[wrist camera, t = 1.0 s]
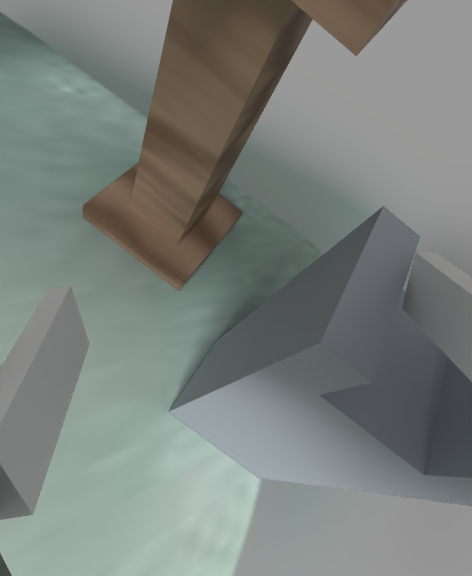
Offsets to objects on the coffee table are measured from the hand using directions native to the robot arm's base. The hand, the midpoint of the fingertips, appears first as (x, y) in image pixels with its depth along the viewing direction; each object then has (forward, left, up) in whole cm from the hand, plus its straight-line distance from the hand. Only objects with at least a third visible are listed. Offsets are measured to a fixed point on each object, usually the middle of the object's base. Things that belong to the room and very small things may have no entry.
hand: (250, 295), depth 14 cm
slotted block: (+7, +4, -20) cm, 22 cm away
